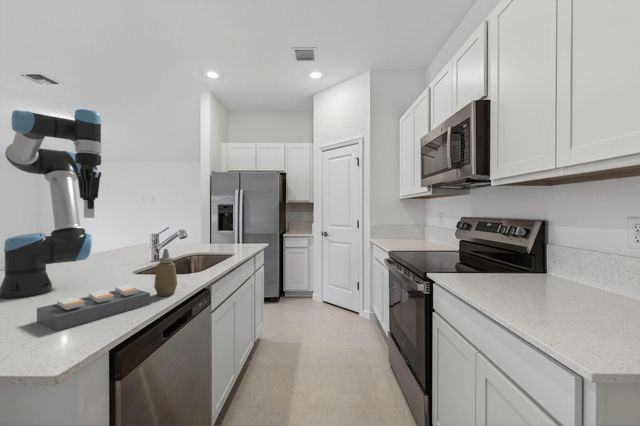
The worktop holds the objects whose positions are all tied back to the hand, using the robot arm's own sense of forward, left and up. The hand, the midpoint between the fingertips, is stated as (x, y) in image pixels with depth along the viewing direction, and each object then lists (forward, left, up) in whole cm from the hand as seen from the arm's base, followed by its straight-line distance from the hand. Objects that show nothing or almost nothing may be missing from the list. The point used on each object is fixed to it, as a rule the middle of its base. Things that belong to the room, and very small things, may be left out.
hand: (89, 217), depth 108 cm
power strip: (+14, -5, -30) cm, 34 cm away
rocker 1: (+19, -13, -25) cm, 34 cm away
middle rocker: (+19, -5, -25) cm, 32 cm away
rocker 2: (+19, +3, -25) cm, 31 cm away
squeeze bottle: (+18, +18, -31) cm, 40 cm away
